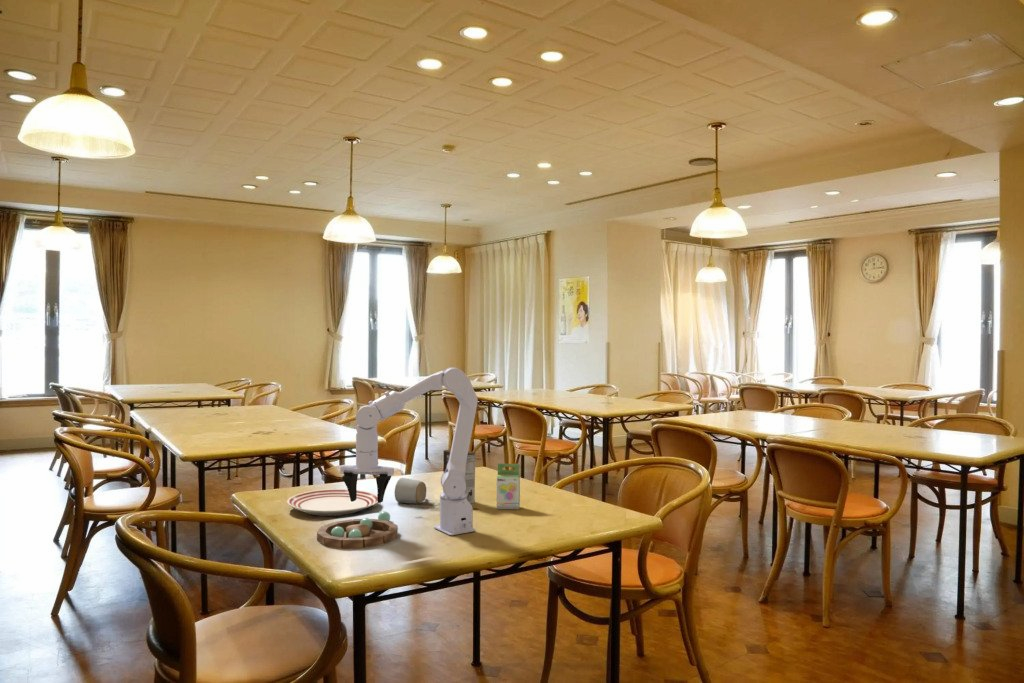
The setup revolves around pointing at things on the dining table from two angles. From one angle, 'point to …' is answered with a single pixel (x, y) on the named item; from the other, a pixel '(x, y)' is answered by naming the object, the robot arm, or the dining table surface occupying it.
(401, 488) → the ceramic mug
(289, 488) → the dining table surface
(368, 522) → the bead
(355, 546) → the ring tray
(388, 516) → the bead
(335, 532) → the seated bead
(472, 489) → the coffee box
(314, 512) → the dinner plate
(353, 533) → the seated bead
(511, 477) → the ink box
